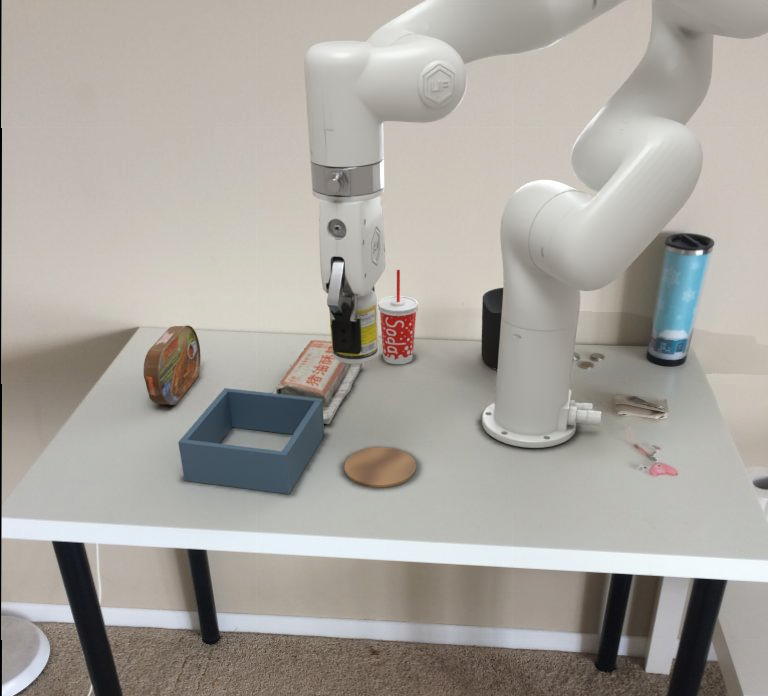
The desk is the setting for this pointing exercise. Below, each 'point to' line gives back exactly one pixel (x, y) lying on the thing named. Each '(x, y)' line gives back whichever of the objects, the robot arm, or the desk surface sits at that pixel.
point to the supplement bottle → (363, 329)
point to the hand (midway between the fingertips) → (354, 339)
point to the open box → (250, 464)
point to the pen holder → (491, 326)
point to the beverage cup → (398, 326)
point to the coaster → (380, 467)
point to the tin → (172, 365)
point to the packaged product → (319, 377)
